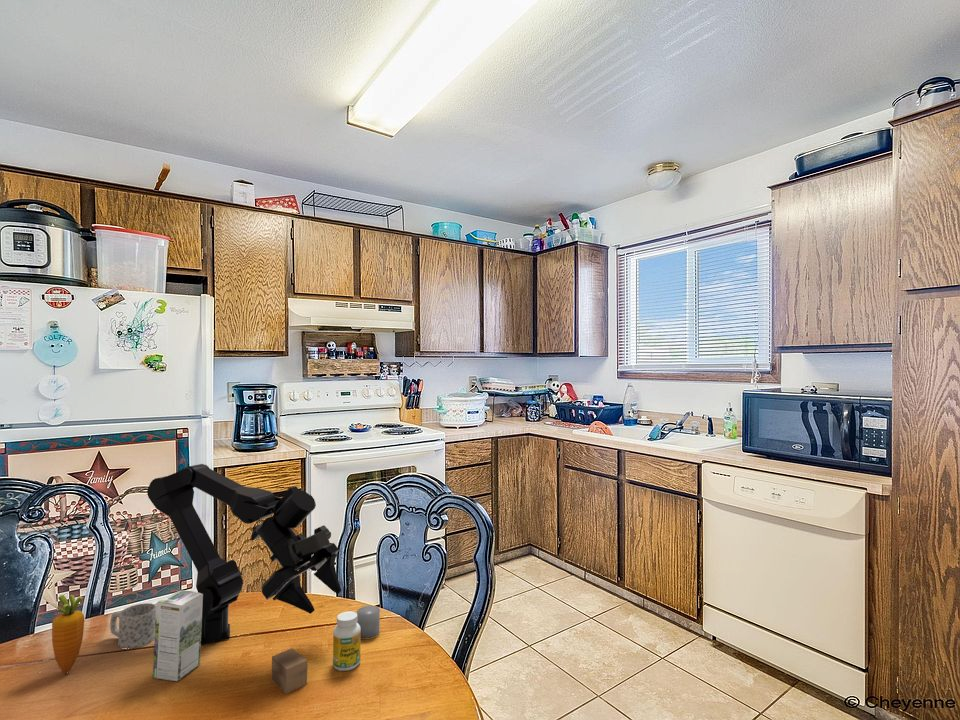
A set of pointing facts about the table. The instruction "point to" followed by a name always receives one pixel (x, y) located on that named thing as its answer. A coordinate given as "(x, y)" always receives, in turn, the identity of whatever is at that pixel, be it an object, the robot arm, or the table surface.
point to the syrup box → (177, 635)
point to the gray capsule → (369, 621)
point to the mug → (134, 625)
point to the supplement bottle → (346, 642)
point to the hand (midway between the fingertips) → (326, 601)
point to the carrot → (67, 633)
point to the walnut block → (289, 670)
